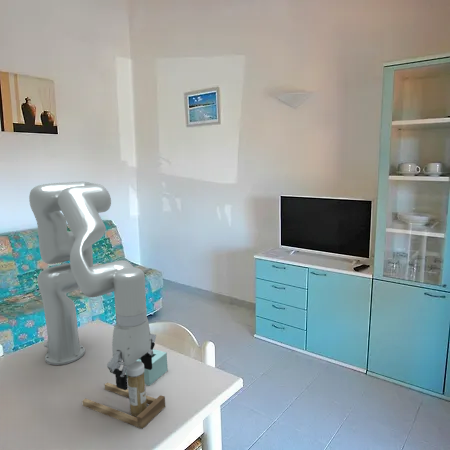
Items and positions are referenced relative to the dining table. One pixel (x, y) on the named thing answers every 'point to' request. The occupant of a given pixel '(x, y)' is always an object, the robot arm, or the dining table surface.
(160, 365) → the teal button box
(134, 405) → the sprinkles bottle
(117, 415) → the oak rail
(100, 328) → the dining table surface
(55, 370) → the dining table surface
